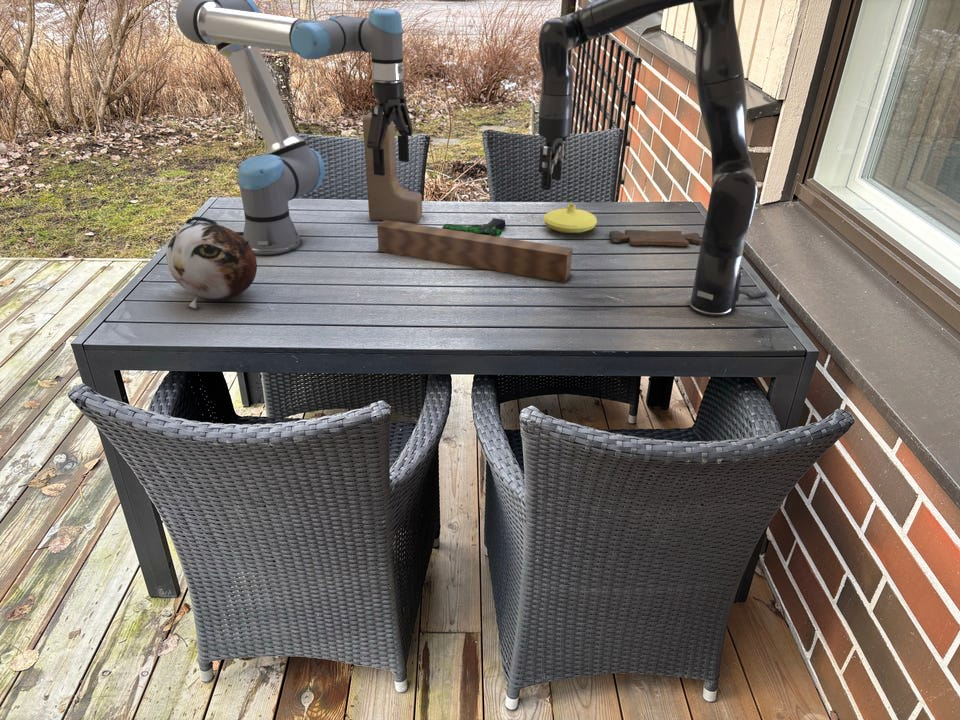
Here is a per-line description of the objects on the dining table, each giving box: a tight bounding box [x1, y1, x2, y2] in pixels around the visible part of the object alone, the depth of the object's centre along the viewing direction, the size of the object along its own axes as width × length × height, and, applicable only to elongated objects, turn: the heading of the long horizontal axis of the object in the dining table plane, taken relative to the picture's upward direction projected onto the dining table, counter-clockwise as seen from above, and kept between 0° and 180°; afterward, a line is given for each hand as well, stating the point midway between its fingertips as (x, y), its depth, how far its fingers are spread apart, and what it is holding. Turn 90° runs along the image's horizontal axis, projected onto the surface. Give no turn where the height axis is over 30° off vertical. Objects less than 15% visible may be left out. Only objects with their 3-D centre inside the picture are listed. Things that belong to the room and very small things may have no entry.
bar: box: [376, 220, 573, 283], centre depth 187 cm, size 52×5×7 cm, turn 69°
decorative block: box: [362, 111, 423, 223], centre depth 209 cm, size 8×15×30 cm, turn 82°
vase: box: [543, 203, 598, 234], centre depth 209 cm, size 16×16×7 cm
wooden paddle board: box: [608, 229, 701, 247], centre depth 204 cm, size 26×2×10 cm
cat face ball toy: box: [165, 222, 258, 309], centre depth 165 cm, size 22×18×20 cm
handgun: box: [441, 217, 506, 237], centre depth 207 cm, size 16×3×15 cm
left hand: (392, 168), depth 184 cm, fingers open, 13 cm apart
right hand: (551, 184), depth 170 cm, fingers open, 8 cm apart
